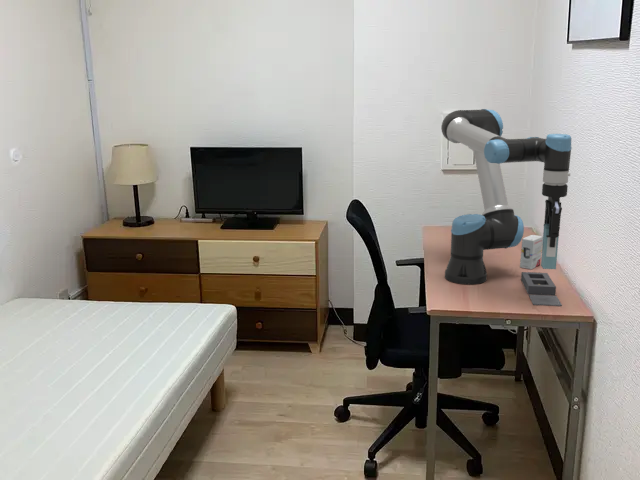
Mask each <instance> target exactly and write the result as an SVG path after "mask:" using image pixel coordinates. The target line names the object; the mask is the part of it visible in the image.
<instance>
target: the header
mask: <svg viewBox="0 0 640 480" xmlns="http://www.w3.org/2000/svg"><path fill="white" fill-rule="evenodd" d="M520 275H521V276H520V281H521V282H522V285H523V287H524V289H525V291H526V293H527V295H550V296H556V291H557V286H556V285H555V283H554V281H553V280H552V278H551V277H550V275H549V274H548V272H535V271H533V272H531V271H530V272H529V271H521V273H520Z"/></svg>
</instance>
